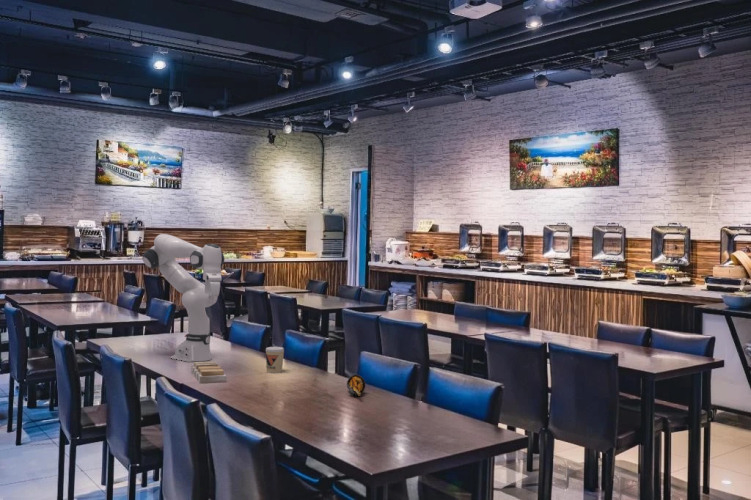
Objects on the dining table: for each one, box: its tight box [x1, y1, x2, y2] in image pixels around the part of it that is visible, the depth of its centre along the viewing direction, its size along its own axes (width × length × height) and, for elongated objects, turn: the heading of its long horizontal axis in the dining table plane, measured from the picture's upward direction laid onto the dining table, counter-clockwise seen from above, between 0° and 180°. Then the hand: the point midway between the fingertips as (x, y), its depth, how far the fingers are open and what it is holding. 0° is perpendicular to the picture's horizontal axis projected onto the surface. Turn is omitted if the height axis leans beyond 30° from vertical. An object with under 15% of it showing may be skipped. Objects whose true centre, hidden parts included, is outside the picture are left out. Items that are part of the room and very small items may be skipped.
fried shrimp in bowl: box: [346, 374, 367, 397], centre depth 303 cm, size 9×11×18 cm
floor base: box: [190, 360, 227, 384], centre depth 333 cm, size 27×12×5 cm, turn 24°
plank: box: [198, 364, 225, 376], centre depth 327 cm, size 13×10×2 cm
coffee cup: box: [265, 346, 285, 374], centre depth 350 cm, size 9×9×12 cm
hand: (211, 303), depth 344 cm, fingers closed
